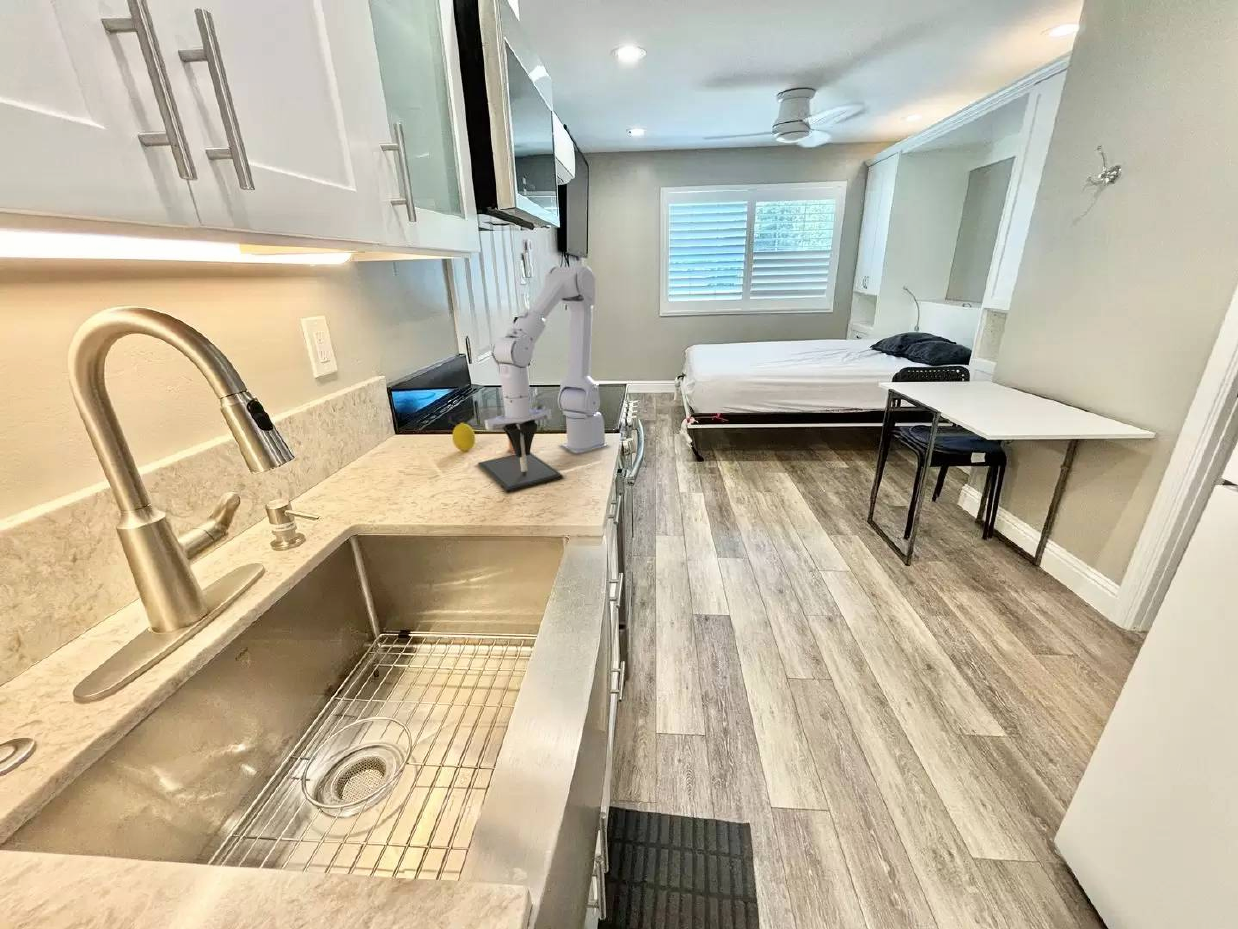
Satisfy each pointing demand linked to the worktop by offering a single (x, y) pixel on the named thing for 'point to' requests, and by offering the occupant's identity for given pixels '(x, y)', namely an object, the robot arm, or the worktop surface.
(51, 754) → the worktop surface
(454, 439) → the lemon
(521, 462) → the stylus
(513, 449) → the holder
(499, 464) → the tablet
